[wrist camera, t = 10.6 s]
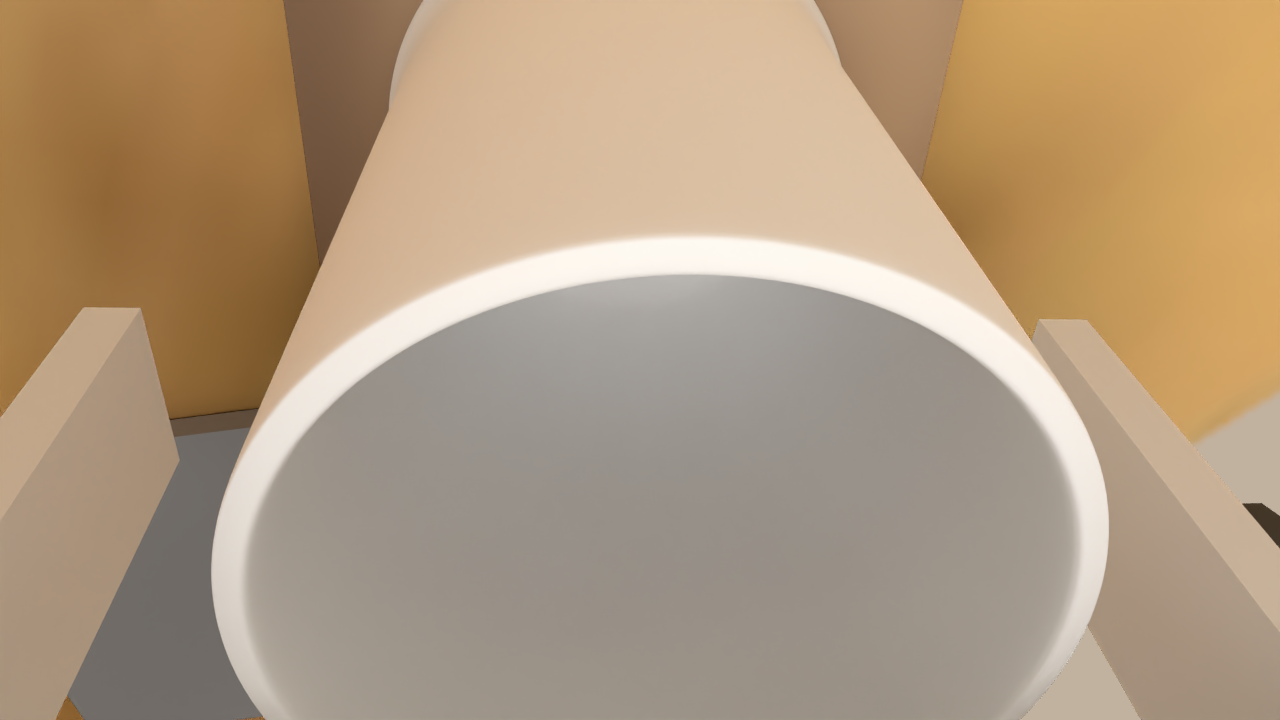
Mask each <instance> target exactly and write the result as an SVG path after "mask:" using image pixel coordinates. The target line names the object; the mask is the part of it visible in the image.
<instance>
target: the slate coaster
mask: <svg viewBox="0 0 1280 720" xmlns="http://www.w3.org/2000/svg"><path fill="white" fill-rule="evenodd" d="M258 410H259V409H253V410H245V411H237V412H229V413H221V414H213V415H205V416H198V417H190V418H182V419H174V420H170V424H171V428H172V432H173V435H174V439H175V443H176V447H177V451H178V455H179V459H180V461H179V463H178V465H177V467H176V469H175V471H174V473H173V475H172V477H171V479H170V482H169V484H168V486H167V488H166V490H165V492H164V494H163V496H162V498H161V500H160V502H159V505H158V507H157V509H156V511H155V513H154V515H153V517H152V519H151V521H150V523H149V525H148V527H147V530H146V532H145V534H144V536H143V538H142V540H141V542H140V544H139V546H138V548H137V550H136V552H135V555H134V557H133V559H132V561H131V563H130V565H129V567H128V569H127V571H126V573H125V575H124V578H123V580H122V582H121V584H120V586H119V588H118V590H117V592H116V594H115V596H114V598H113V600H112V603H111V605H110V607H109V609H108V611H107V613H106V615H105V617H104V619H103V621H102V623H101V625H100V628H99V630H98V632H97V634H96V636H95V638H94V640H93V642H92V644H91V646H90V648H89V651H88V653H87V655H86V657H85V659H84V661H83V663H82V665H81V667H80V669H79V671H78V673H77V676H76V678H75V680H74V682H73V684H72V686H71V688H70V690H69V692H68V694H67V696H68V697H69V699H70V700H71V702H72V703H73V704H74V706H75V707H76V709H77V710H78V712H79V713H80V714H81V716H82V717H83V719H84V720H238V719H247V718H255V717H263V716H262V714H261V713H260V712H259V710H258V709H257V708H256V706H255V705H254V703H253V702H252V700H251V699H250V697H249V696H248V694H247V693H246V691H245V689H244V688H243V686H242V684H241V682H240V681H239V679H238V677H237V675H236V673H235V671H234V669H233V667H232V665H231V662H230V660H229V658H228V655H227V653H226V650H225V647H224V644H223V641H222V638H221V635H220V631H219V628H218V624H217V619H216V615H215V609H214V603H213V595H212V583H211V561H212V548H213V540H214V534H215V529H216V524H217V519H218V515H219V510H220V507H221V503H222V500H223V497H224V494H225V491H226V488H227V485H228V482H229V479H230V477H231V474H232V472H233V469H234V467H235V464H236V462H237V459H238V457H239V454H240V452H241V450H242V447H243V445H244V442H245V440H246V438H247V435H248V433H249V431H250V428H251V426H252V424H253V422H254V419H255V417H256V415H257V412H258Z"/></svg>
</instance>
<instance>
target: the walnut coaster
mask: <svg viewBox="0 0 1280 720" xmlns="http://www.w3.org/2000/svg"><path fill="white" fill-rule="evenodd" d="M422 1H423V0H284V7H285V15H286V22H287V29H288V37H289V44H290V51H291V59H292V66H293V73H294V81H295V88H296V95H297V102H298V110H299V117H300V124H301V132H302V139H303V146H304V154H305V161H306V168H307V176H308V183H309V190H310V198H311V205H312V212H313V220H314V227H315V234H316V242H317V249H318V256H319V264H320V267H321V265H322V263H323V260H324V258H325V256H326V254H327V251H328V249H329V247H330V244H331V242H332V240H333V237H334V235H335V233H336V231H337V228H338V226H339V224H340V221H341V219H342V217H343V214H344V212H345V210H346V208H347V205H348V203H349V201H350V198H351V196H352V194H353V191H354V189H355V187H356V185H357V182H358V180H359V178H360V175H361V173H362V171H363V168H364V166H365V164H366V162H367V159H368V157H369V155H370V152H371V150H372V148H373V145H374V143H375V141H376V139H377V136H378V134H379V132H380V129H381V127H382V125H383V123H384V120H385V118H386V116H387V113H388V111H389V99H390V90H391V83H392V77H393V72H394V68H395V64H396V60H397V57H398V53H399V50H400V47H401V44H402V42H403V39H404V36H405V34H406V32H407V29H408V27H409V25H410V23H411V21H412V19H413V17H414V15H415V13H416V11H417V10H418V8H419V6H420V5H421V3H422ZM814 1H815V3H816V5H817V6H818V8H819V10H820V12H821V14H822V15H823V17H824V19H825V21H826V24H827V26H828V28H829V30H830V33H831V35H832V38H833V40H834V43H835V46H836V49H837V52H838V56H839V59H840V63H841V66H842V68H843V69H844V71H845V72H846V74H847V75H848V77H849V78H850V80H851V81H852V82H853V84H854V85H855V87H856V88H857V90H858V91H859V93H860V94H861V95H862V97H863V98H864V100H865V101H866V103H867V104H868V106H869V107H870V108H871V110H872V111H873V113H874V114H875V116H876V117H877V119H878V120H879V121H880V123H881V124H882V126H883V127H884V129H885V130H886V132H887V133H888V135H889V136H890V137H891V139H892V140H893V142H894V143H895V145H896V146H897V148H898V149H899V150H900V152H901V153H902V155H903V156H904V158H905V159H906V161H907V162H908V163H909V165H910V166H911V168H912V169H913V171H914V172H915V174H916V175H917V176H918V178H919V179H920V181H921V179H922V175H923V170H924V166H925V162H926V158H927V153H928V149H929V145H930V141H931V136H932V132H933V128H934V123H935V119H936V115H937V111H938V106H939V102H940V98H941V93H942V89H943V85H944V81H945V76H946V72H947V68H948V64H949V59H950V55H951V51H952V46H953V42H954V38H955V34H956V29H957V25H958V21H959V16H960V12H961V8H962V4H963V0H814Z"/></svg>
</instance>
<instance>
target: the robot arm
mask: <svg viewBox="0 0 1280 720" xmlns="http://www.w3.org/2000/svg"><path fill="white" fill-rule="evenodd" d="M1032 343H1033V344H1034V346H1035V347H1036V349H1037V350H1038V352H1039V353H1040V355H1041V356H1042V358H1043V359H1044V360H1045V362H1046V363H1047V365H1048V366H1049V368H1050V369H1051V371H1052V372H1053V374H1054V375H1055V377H1056V378H1057V380H1058V381H1059V383H1060V384H1061V386H1062V387H1063V389H1064V390H1065V392H1066V394H1067V395H1068V397H1069V398H1070V400H1071V402H1072V404H1073V405H1074V407H1075V409H1076V410H1077V412H1078V414H1079V416H1080V418H1081V420H1082V421H1083V424H1084V426H1085V428H1086V430H1087V432H1088V434H1089V437H1090V439H1091V441H1092V444H1093V446H1094V449H1095V452H1096V454H1097V457H1098V460H1099V464H1100V467H1101V471H1102V474H1103V479H1104V483H1105V488H1106V494H1107V502H1108V512H1109V541H1108V553H1107V561H1106V567H1105V572H1104V577H1103V581H1102V586H1101V589H1100V593H1099V596H1098V599H1097V602H1096V605H1095V608H1094V611H1093V613H1092V616H1091V618H1090V621H1089V623H1088V625H1087V626H1088V628H1089V629H1090V631H1091V633H1092V635H1093V636H1094V638H1095V640H1096V641H1097V643H1098V645H1099V647H1100V649H1101V651H1102V652H1103V654H1104V656H1105V658H1106V659H1107V661H1108V663H1109V665H1110V666H1111V668H1112V670H1113V671H1114V673H1115V675H1116V677H1117V678H1118V680H1119V682H1120V684H1121V686H1122V687H1123V689H1124V691H1125V693H1126V694H1127V696H1128V698H1129V700H1130V701H1131V703H1132V705H1133V706H1134V708H1135V710H1136V712H1137V714H1138V715H1139V717H1140V719H1141V720H1280V516H1279V515H1277V514H1276V513H1275V512H1273V511H1272V510H1270V509H1269V508H1268V507H1266V506H1265V505H1263V504H1262V503H1258V504H1257V503H1251V504H1242V503H1241V502H1240V501H1239V500H1238V499H1237V497H1236V496H1235V495H1234V494H1233V493H1232V491H1231V490H1230V489H1229V488H1228V487H1227V486H1226V484H1225V483H1224V482H1223V481H1222V480H1221V478H1220V477H1219V476H1218V475H1217V474H1216V473H1215V471H1214V470H1213V469H1212V468H1211V467H1210V465H1209V464H1208V463H1207V462H1206V461H1205V459H1204V458H1203V457H1202V456H1201V455H1200V454H1199V452H1198V451H1197V450H1196V449H1195V448H1194V446H1193V445H1192V444H1191V443H1190V442H1189V440H1188V439H1187V438H1186V437H1185V436H1184V435H1183V433H1182V432H1181V431H1180V430H1179V429H1178V427H1177V426H1176V425H1175V424H1174V423H1173V421H1172V420H1171V419H1170V418H1169V417H1168V416H1167V414H1166V413H1165V412H1164V411H1163V410H1162V408H1161V407H1160V406H1159V405H1158V404H1157V403H1156V401H1155V400H1154V399H1153V398H1152V397H1151V395H1150V394H1149V393H1148V392H1147V391H1146V389H1145V388H1144V387H1143V386H1142V385H1141V384H1140V382H1139V381H1138V380H1137V379H1136V378H1135V376H1134V375H1133V374H1132V373H1131V372H1130V371H1129V369H1128V368H1127V367H1126V366H1125V365H1124V363H1123V362H1122V361H1121V360H1120V359H1119V357H1118V356H1117V355H1116V354H1115V353H1114V352H1113V350H1112V349H1111V348H1110V347H1109V346H1108V344H1107V343H1106V342H1105V341H1104V340H1103V338H1102V337H1101V336H1100V335H1099V334H1098V333H1097V331H1096V330H1095V329H1094V328H1093V327H1092V325H1091V324H1090V323H1089V322H1088V321H1087V320H1075V319H1039V320H1038V323H1037V326H1036V329H1035V332H1034V335H1033V338H1032ZM179 461H180V459H179V455H178V451H177V447H176V443H175V439H174V435H173V432H172V428H171V424H170V420H169V416H168V412H167V408H166V404H165V400H164V396H163V393H162V389H161V385H160V381H159V377H158V373H157V369H156V365H155V361H154V357H153V354H152V350H151V346H150V342H149V338H148V334H147V330H146V326H145V322H144V318H143V315H142V311H141V308H108V307H83V308H82V310H81V311H80V312H79V314H78V315H77V316H76V318H75V319H74V320H73V322H72V323H71V324H70V326H69V327H68V328H67V330H66V331H65V332H64V334H63V335H62V336H61V338H60V339H59V340H58V342H57V343H56V344H55V346H54V347H53V348H52V350H51V351H50V352H49V354H48V355H47V356H46V358H45V359H44V360H43V362H42V363H41V364H40V366H39V367H38V368H37V370H36V371H35V372H34V374H33V375H32V376H31V378H30V379H29V380H28V382H27V383H26V384H25V386H24V387H23V388H22V390H21V391H20V392H19V394H18V395H17V396H16V398H15V399H14V400H13V402H12V403H11V404H10V406H9V407H8V408H7V410H6V411H5V412H4V414H3V415H2V416H1V417H0V720H55V719H56V717H57V715H58V713H59V711H60V709H61V707H62V705H63V703H64V701H65V698H66V696H67V694H68V692H69V690H70V688H71V686H72V684H73V682H74V680H75V678H76V676H77V673H78V671H79V669H80V667H81V665H82V663H83V661H84V659H85V657H86V655H87V653H88V651H89V648H90V646H91V644H92V642H93V640H94V638H95V636H96V634H97V632H98V630H99V628H100V625H101V623H102V621H103V619H104V617H105V615H106V613H107V611H108V609H109V607H110V605H111V603H112V600H113V598H114V596H115V594H116V592H117V590H118V588H119V586H120V584H121V582H122V580H123V578H124V575H125V573H126V571H127V569H128V567H129V565H130V563H131V561H132V559H133V557H134V555H135V552H136V550H137V548H138V546H139V544H140V542H141V540H142V538H143V536H144V534H145V532H146V530H147V527H148V525H149V523H150V521H151V519H152V517H153V515H154V513H155V511H156V509H157V507H158V505H159V502H160V500H161V498H162V496H163V494H164V492H165V490H166V488H167V486H168V484H169V482H170V479H171V477H172V475H173V473H174V471H175V469H176V467H177V465H178V463H179Z"/></svg>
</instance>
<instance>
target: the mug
mask: <svg viewBox="0 0 1280 720" xmlns="http://www.w3.org/2000/svg"><path fill="white" fill-rule="evenodd" d="M1108 541H1109V512H1108V502H1107V494H1106V488H1105V483H1104V479H1103V474H1102V471H1101V467H1100V464H1099V460H1098V457H1097V454H1096V452H1095V449H1094V446H1093V444H1092V441H1091V439H1090V437H1089V434H1088V432H1087V430H1086V428H1085V426H1084V424H1083V421H1082V420H1081V418H1080V416H1079V414H1078V412H1077V410H1076V409H1075V407H1074V405H1073V404H1072V402H1071V400H1070V398H1069V397H1068V395H1067V394H1066V392H1065V390H1064V389H1063V387H1062V386H1061V384H1060V383H1059V381H1058V380H1057V378H1056V377H1055V375H1054V374H1053V372H1052V371H1051V369H1050V368H1049V366H1048V365H1047V363H1046V362H1045V360H1044V359H1043V358H1042V356H1041V355H1040V353H1039V352H1038V350H1037V349H1036V347H1035V346H1034V344H1033V343H1032V341H1031V340H1030V339H1029V337H1028V336H1027V334H1026V333H1025V331H1024V330H1023V328H1022V327H1021V326H1020V324H1019V323H1018V321H1017V320H1016V318H1015V317H1014V315H1013V314H1012V313H1011V311H1010V310H1009V308H1008V307H1007V305H1006V304H1005V302H1004V301H1003V299H1002V298H1001V297H1000V295H999V294H998V292H997V291H996V289H995V288H994V286H993V285H992V284H991V282H990V281H989V279H988V278H987V276H986V275H985V273H984V272H983V271H982V269H981V268H980V266H979V265H978V263H977V262H976V260H975V259H974V258H973V256H972V255H971V253H970V252H969V250H968V249H967V247H966V246H965V244H964V243H963V242H962V240H961V239H960V237H959V236H958V234H957V233H956V231H955V230H954V229H953V227H952V226H951V224H950V223H949V221H948V220H947V218H946V217H945V216H944V214H943V213H942V211H941V210H940V208H939V207H938V205H937V204H936V203H935V201H934V200H933V198H932V197H931V195H930V194H929V192H928V191H927V189H926V188H925V187H924V185H923V184H922V182H921V181H920V179H919V178H918V176H917V175H916V174H915V172H914V171H913V169H912V168H911V166H910V165H909V163H908V162H907V161H906V159H905V158H904V156H903V155H902V153H901V152H900V150H899V149H898V148H897V146H896V145H895V143H894V142H893V140H892V139H891V137H890V136H889V135H888V133H887V132H886V130H885V129H884V127H883V126H882V124H881V123H880V121H879V120H878V119H877V117H876V116H875V114H874V113H873V111H872V110H871V108H870V107H869V106H868V104H867V103H866V101H865V100H864V98H863V97H862V95H861V94H860V93H859V91H858V90H857V88H856V87H855V85H854V84H853V82H852V81H851V80H850V78H849V77H848V75H847V74H846V72H845V71H844V69H843V68H842V66H841V63H840V59H839V56H838V52H837V49H836V46H835V43H834V40H833V38H832V35H831V33H830V30H829V28H828V26H827V24H826V21H825V19H824V17H823V15H822V14H821V12H820V10H819V8H818V6H817V5H816V3H815V1H814V0H423V1H422V3H421V5H420V6H419V8H418V10H417V11H416V13H415V15H414V17H413V19H412V21H411V23H410V25H409V27H408V29H407V32H406V34H405V36H404V39H403V42H402V44H401V47H400V50H399V53H398V57H397V60H396V64H395V68H394V72H393V77H392V83H391V90H390V99H389V111H388V113H387V116H386V118H385V120H384V123H383V125H382V127H381V129H380V132H379V134H378V136H377V139H376V141H375V143H374V145H373V148H372V150H371V152H370V155H369V157H368V159H367V162H366V164H365V166H364V168H363V171H362V173H361V175H360V178H359V180H358V182H357V185H356V187H355V189H354V191H353V194H352V196H351V198H350V201H349V203H348V205H347V208H346V210H345V212H344V214H343V217H342V219H341V221H340V224H339V226H338V228H337V231H336V233H335V235H334V237H333V240H332V242H331V244H330V247H329V249H328V251H327V254H326V256H325V258H324V260H323V263H322V265H321V267H320V270H319V272H318V274H317V277H316V279H315V281H314V283H313V286H312V288H311V290H310V293H309V295H308V297H307V300H306V302H305V304H304V306H303V309H302V311H301V313H300V316H299V318H298V320H297V323H296V325H295V327H294V329H293V332H292V334H291V336H290V339H289V341H288V343H287V346H286V348H285V350H284V352H283V355H282V357H281V359H280V362H279V364H278V366H277V369H276V371H275V373H274V375H273V378H272V380H271V382H270V385H269V387H268V389H267V392H266V394H265V396H264V398H263V401H262V403H261V405H260V408H259V410H258V412H257V415H256V417H255V419H254V422H253V424H252V426H251V428H250V431H249V433H248V435H247V438H246V440H245V442H244V445H243V447H242V450H241V452H240V454H239V457H238V459H237V462H236V464H235V467H234V469H233V472H232V474H231V477H230V479H229V482H228V485H227V488H226V491H225V494H224V497H223V500H222V503H221V507H220V510H219V515H218V519H217V524H216V529H215V534H214V540H213V548H212V561H211V583H212V595H213V603H214V609H215V615H216V619H217V624H218V628H219V631H220V635H221V638H222V641H223V644H224V647H225V650H226V653H227V655H228V658H229V660H230V662H231V665H232V667H233V669H234V671H235V673H236V675H237V677H238V679H239V681H240V682H241V684H242V686H243V688H244V689H245V691H246V693H247V694H248V696H249V697H250V699H251V700H252V702H253V703H254V705H255V706H256V708H257V709H258V710H259V712H260V713H261V714H262V716H263V717H264V718H265V719H266V720H1020V719H1022V718H1023V717H1024V716H1025V715H1026V713H1028V711H1029V710H1030V709H1031V708H1032V707H1033V706H1034V705H1035V704H1036V703H1037V702H1038V701H1039V699H1040V698H1041V697H1042V696H1043V695H1044V693H1045V692H1046V691H1047V690H1048V689H1049V687H1050V686H1051V685H1052V683H1053V682H1054V681H1055V679H1056V678H1057V677H1058V675H1059V674H1060V673H1061V671H1062V669H1063V668H1064V667H1065V665H1066V664H1067V662H1068V661H1069V659H1070V657H1071V656H1072V654H1073V652H1074V650H1075V648H1076V647H1077V645H1078V643H1079V642H1080V640H1081V637H1082V636H1083V634H1084V632H1085V630H1086V627H1087V625H1088V623H1089V621H1090V618H1091V616H1092V613H1093V611H1094V608H1095V605H1096V602H1097V599H1098V596H1099V593H1100V589H1101V586H1102V581H1103V577H1104V572H1105V567H1106V561H1107V553H1108Z"/></svg>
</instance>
